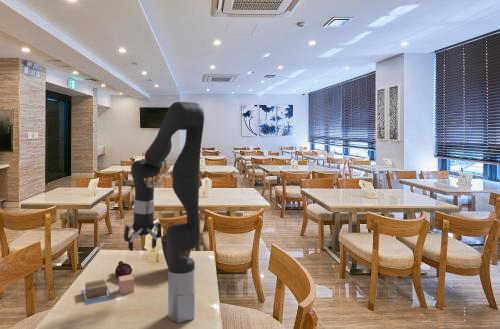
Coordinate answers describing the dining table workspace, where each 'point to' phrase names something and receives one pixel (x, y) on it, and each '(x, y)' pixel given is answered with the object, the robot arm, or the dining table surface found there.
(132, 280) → the terracotta block
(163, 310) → the dining table surface
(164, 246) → the plant pot
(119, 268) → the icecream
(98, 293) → the walnut base
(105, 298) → the blueprint mat
